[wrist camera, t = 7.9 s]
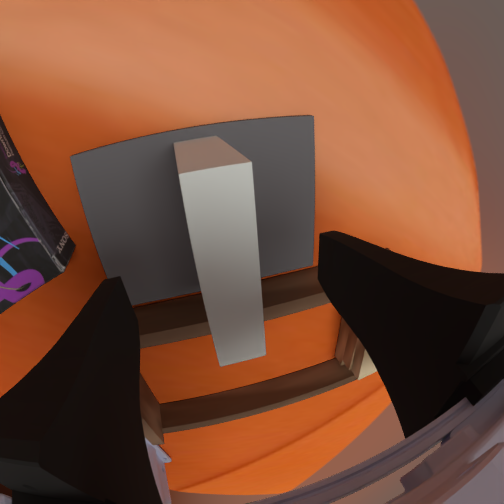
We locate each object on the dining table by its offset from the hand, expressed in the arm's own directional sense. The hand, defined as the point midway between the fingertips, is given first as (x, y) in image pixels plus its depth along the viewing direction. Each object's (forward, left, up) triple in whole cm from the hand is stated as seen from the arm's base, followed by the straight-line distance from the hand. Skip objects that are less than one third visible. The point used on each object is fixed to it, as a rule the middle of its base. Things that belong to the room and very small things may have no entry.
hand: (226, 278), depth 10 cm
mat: (0, 0, -6) cm, 6 cm away
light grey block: (0, 0, -5) cm, 5 cm away
